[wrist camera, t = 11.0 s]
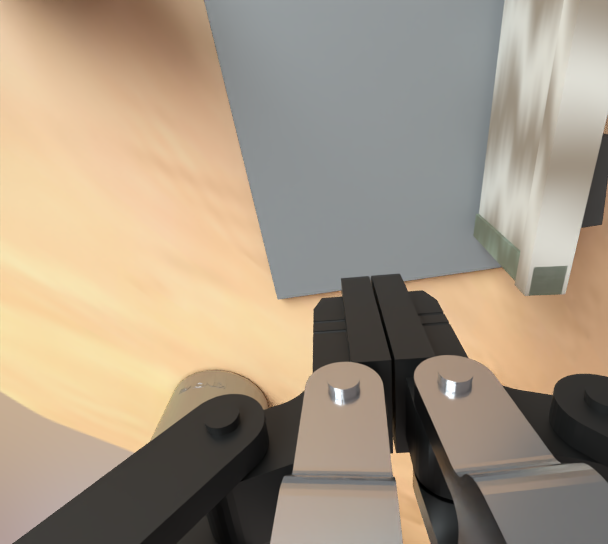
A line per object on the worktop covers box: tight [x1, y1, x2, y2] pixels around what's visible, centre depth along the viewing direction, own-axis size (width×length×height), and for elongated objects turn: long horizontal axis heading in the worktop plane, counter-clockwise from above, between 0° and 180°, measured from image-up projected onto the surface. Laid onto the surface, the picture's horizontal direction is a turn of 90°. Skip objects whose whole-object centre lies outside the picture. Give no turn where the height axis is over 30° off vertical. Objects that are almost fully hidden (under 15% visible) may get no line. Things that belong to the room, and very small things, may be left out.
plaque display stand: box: [204, 0, 608, 299], centre depth 22 cm, size 22×21×11 cm
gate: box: [473, 0, 608, 296], centre depth 22 cm, size 14×2×9 cm, turn 4°
